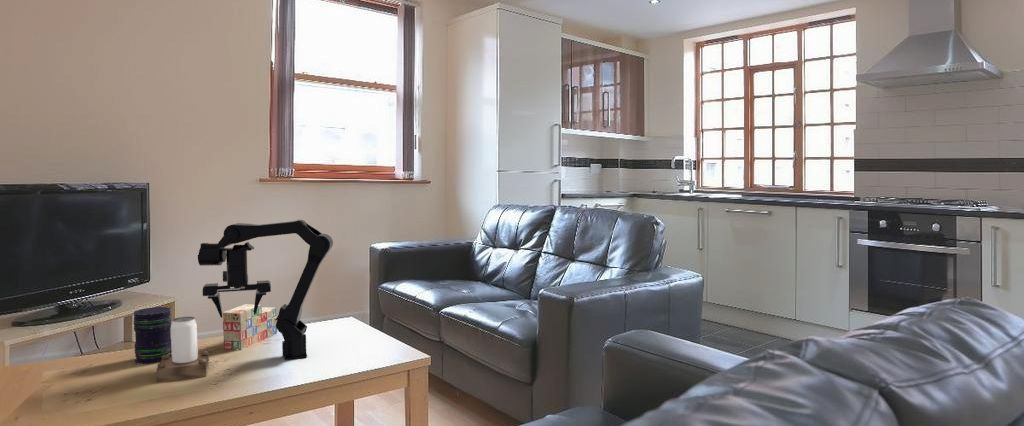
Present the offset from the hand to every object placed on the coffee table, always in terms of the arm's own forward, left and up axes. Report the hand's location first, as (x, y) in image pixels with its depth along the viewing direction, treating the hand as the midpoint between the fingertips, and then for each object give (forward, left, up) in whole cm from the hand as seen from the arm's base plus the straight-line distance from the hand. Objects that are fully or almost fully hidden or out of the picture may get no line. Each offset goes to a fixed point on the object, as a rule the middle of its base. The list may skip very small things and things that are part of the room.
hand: (238, 316), depth 190 cm
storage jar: (+24, -8, -13) cm, 29 cm away
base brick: (+14, +10, -13) cm, 22 cm away
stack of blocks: (-3, -20, -13) cm, 24 cm away
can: (+14, +10, -10) cm, 19 cm away
